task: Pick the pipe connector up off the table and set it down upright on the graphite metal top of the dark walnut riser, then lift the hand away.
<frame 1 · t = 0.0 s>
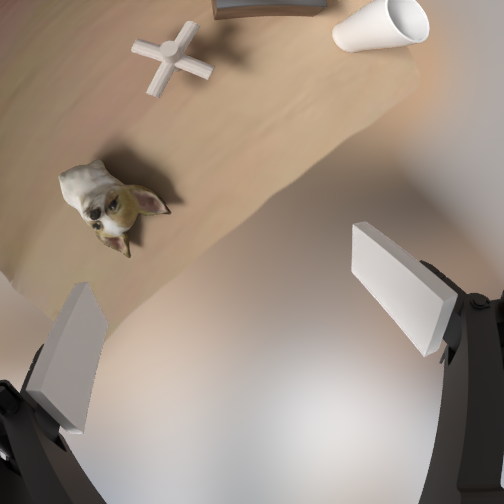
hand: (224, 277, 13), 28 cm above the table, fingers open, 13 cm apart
ceramic sculpture: (115, 197, 37), on the table
drinking glass: (345, 38, 32), on the table
pipe connector: (175, 65, 31), on the table
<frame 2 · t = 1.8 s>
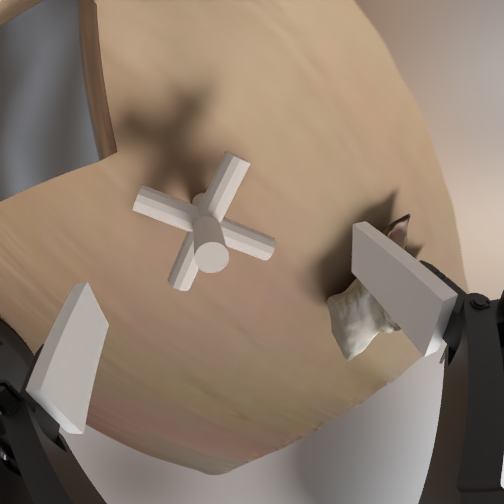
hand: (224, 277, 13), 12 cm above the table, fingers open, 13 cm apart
ceramic sculpture: (366, 275, 32), on the table
pipe connector: (202, 202, 24), on the table
riser: (24, 107, 16), on the table
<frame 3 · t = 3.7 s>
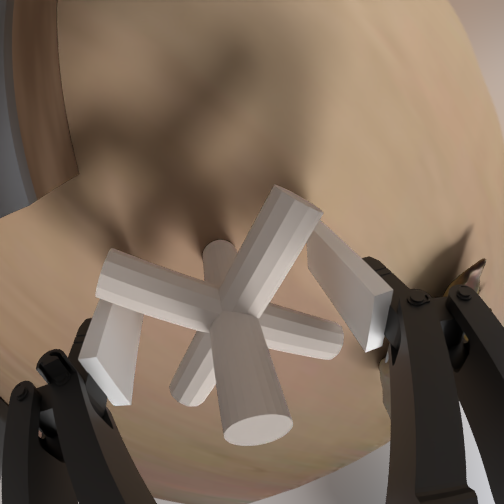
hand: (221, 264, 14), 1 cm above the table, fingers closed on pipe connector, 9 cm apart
ceramic sculpture: (423, 328, 23), on the table
pipe connector: (219, 253, 15), on the table, touching gripper
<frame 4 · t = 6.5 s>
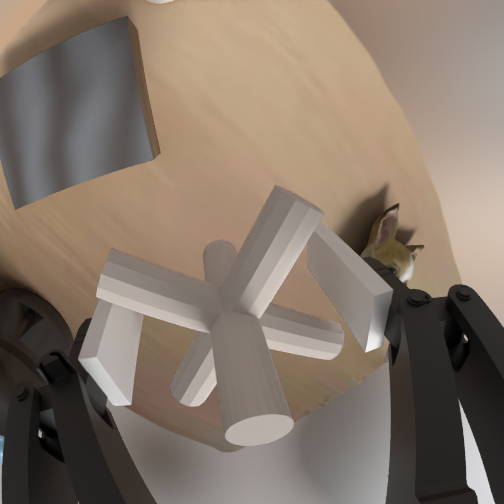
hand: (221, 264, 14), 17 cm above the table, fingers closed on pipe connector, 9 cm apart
ceramic sculpture: (367, 256, 38), on the table
pipe connector: (220, 254, 15), point 16 cm above the table, touching gripper
riser: (76, 113, 23), on the table
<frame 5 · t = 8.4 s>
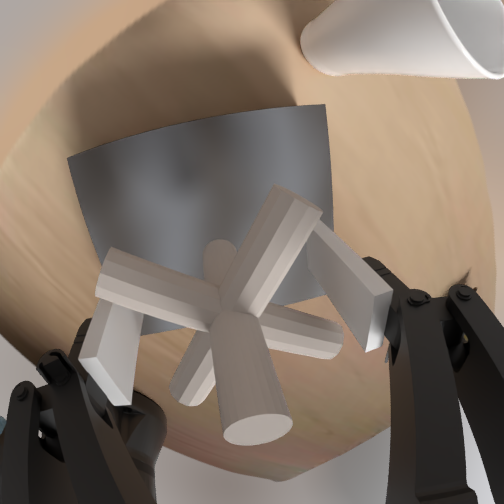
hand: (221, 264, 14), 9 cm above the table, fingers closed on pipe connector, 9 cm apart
drinking glass: (327, 48, 18), on the table
pipe connector: (219, 253, 15), point 8 cm above the table, touching gripper
riser: (210, 208, 22), on the table
when the fingers open (7 cm above the table, at t = 9.3 s): pipe connector stays where it is, resting on riser.
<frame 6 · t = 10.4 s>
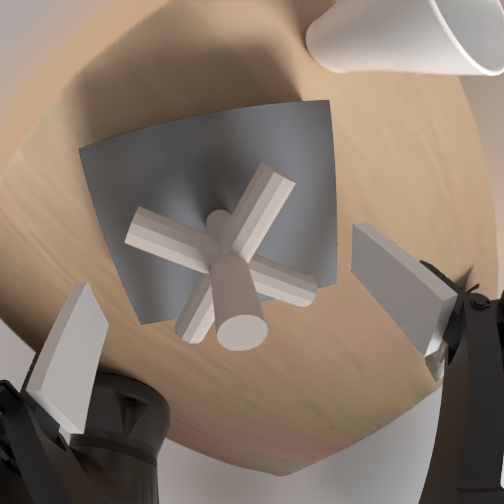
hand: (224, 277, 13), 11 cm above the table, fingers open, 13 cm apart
ceramic sculpture: (445, 321, 38), on the table
drinking glass: (332, 45, 18), on the table
pipe connector: (219, 221, 19), point 5 cm above the table, touching riser
riser: (217, 199, 23), on the table
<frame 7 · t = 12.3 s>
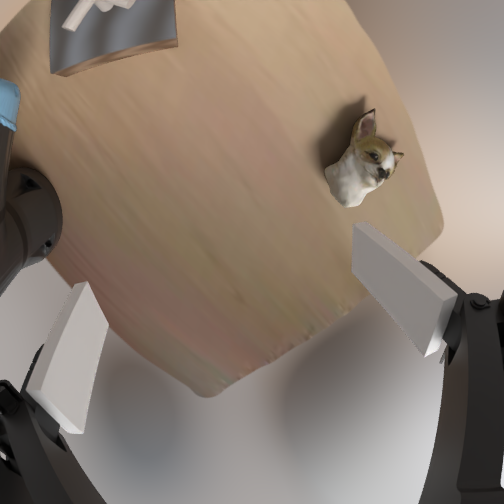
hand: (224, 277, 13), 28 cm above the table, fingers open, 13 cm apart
ceramic sculpture: (353, 159, 41), on the table
pipe connector: (107, 6, 20), point 5 cm above the table, touching riser
riser: (116, 17, 25), on the table
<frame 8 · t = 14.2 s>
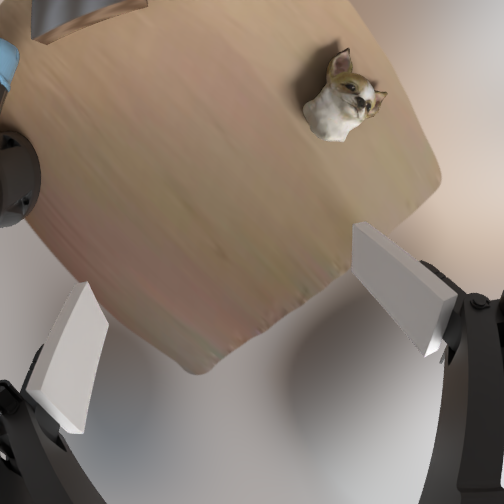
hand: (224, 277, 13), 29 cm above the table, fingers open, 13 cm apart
ceramic sculpture: (333, 100, 37), on the table
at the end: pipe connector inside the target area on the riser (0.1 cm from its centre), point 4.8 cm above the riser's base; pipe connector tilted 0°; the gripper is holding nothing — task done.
